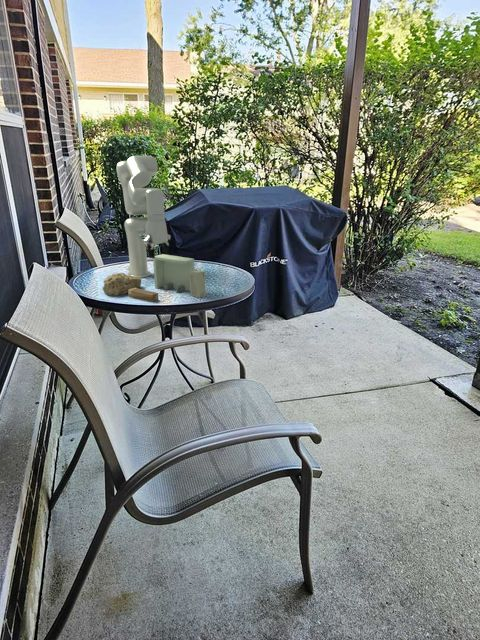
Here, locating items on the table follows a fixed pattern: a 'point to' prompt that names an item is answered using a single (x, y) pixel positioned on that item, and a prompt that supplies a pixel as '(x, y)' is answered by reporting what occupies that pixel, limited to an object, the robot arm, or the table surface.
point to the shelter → (172, 272)
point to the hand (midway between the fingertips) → (158, 256)
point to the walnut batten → (143, 295)
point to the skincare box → (197, 283)
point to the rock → (120, 284)
